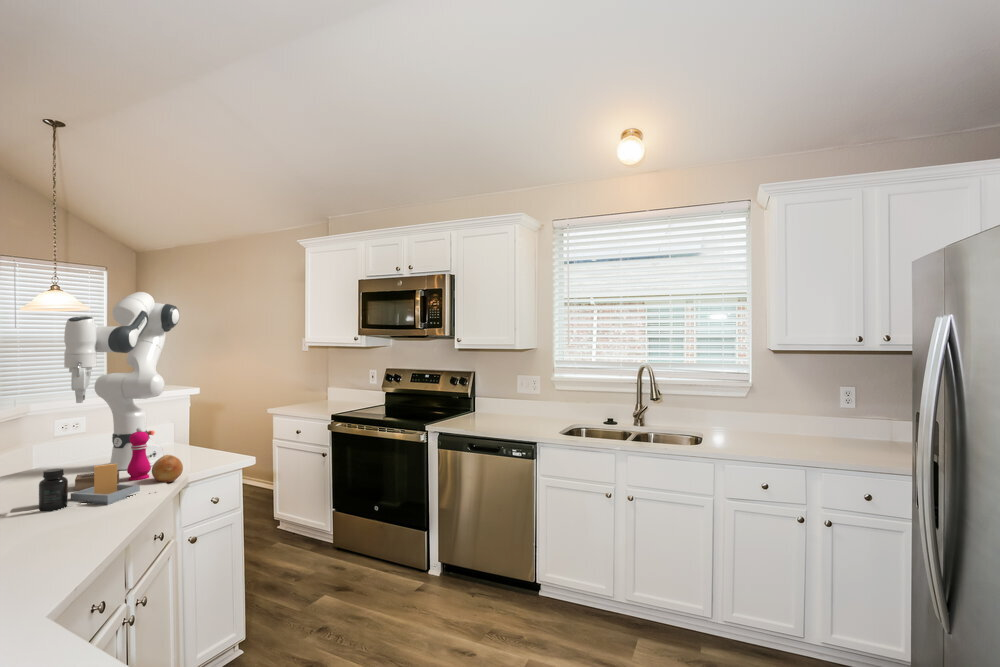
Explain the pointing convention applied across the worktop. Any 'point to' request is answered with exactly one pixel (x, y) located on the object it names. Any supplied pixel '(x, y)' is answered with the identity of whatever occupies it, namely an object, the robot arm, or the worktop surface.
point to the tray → (120, 494)
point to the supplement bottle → (53, 490)
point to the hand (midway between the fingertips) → (80, 401)
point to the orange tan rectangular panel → (105, 479)
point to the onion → (167, 469)
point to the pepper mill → (139, 456)
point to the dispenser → (87, 481)
